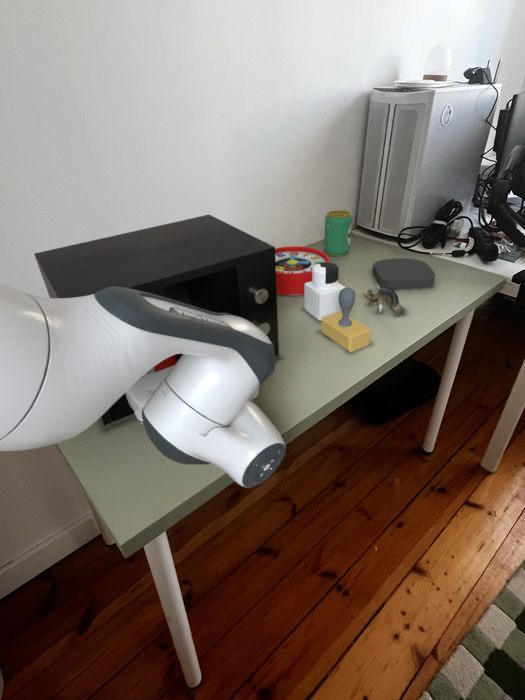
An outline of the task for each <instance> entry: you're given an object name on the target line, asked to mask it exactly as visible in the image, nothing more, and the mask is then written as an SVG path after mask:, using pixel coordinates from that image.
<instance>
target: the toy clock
mask: <svg viewBox="0 0 525 700" xmlns="http://www.w3.org/2000/svg"><path fill="white" fill-rule="evenodd" d="M275 261H276V289H277V295H281V296H301V295H304V284H305V283H307V282H311V281H312V267H313V266H314V265H315V264H318V263H321V262H330V257H329V255H328V254H327V253H326V252H324V251H322V250H320V249H317V248H313V247H308V246H300V245H299V246H295V245H293V246H280V247H275Z"/></svg>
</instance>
